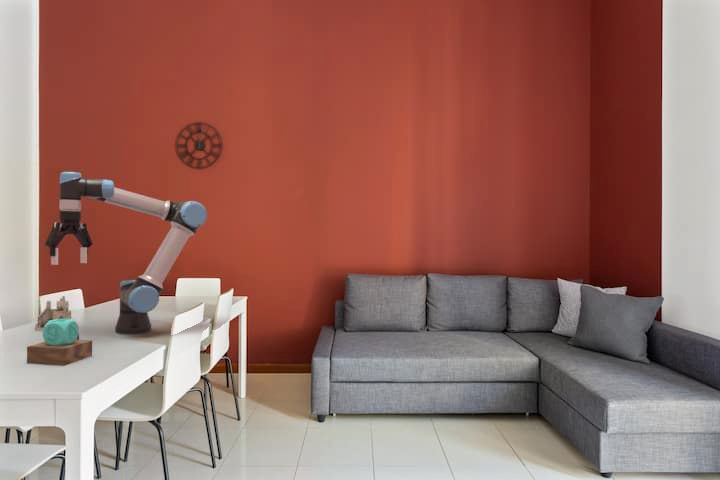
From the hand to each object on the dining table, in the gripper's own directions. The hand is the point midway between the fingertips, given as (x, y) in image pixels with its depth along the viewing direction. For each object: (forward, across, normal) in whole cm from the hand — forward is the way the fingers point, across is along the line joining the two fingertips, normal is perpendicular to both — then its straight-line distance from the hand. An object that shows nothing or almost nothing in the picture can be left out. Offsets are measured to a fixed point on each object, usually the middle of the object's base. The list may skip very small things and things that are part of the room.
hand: (69, 264), depth 205 cm
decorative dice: (+26, +21, +20) cm, 39 cm away
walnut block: (+32, +21, +20) cm, 43 cm away
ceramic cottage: (+32, -19, -30) cm, 48 cm away
